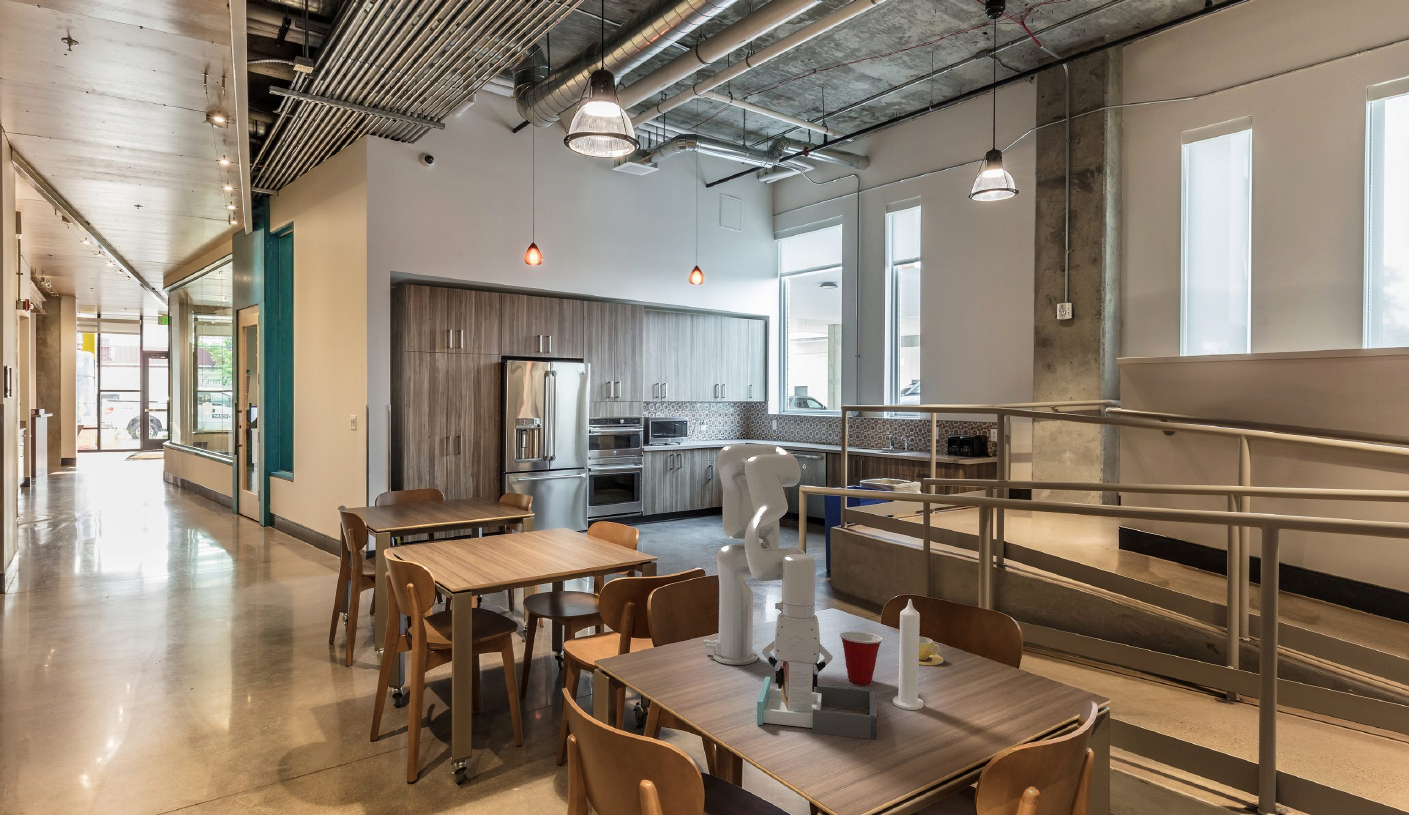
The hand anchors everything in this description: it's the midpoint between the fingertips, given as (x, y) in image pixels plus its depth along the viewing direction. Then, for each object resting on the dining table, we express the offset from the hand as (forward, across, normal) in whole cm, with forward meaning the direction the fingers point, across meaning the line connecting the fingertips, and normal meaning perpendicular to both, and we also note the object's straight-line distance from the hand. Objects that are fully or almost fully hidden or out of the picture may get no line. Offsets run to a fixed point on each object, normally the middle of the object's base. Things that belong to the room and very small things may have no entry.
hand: (796, 687), depth 165 cm
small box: (+4, 0, 0) cm, 4 cm away
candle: (+6, +26, +13) cm, 29 cm away
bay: (+6, +11, 0) cm, 12 cm away
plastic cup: (+6, +15, +25) cm, 30 cm away
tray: (+6, -1, 0) cm, 6 cm away
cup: (+7, +32, +47) cm, 57 cm away
